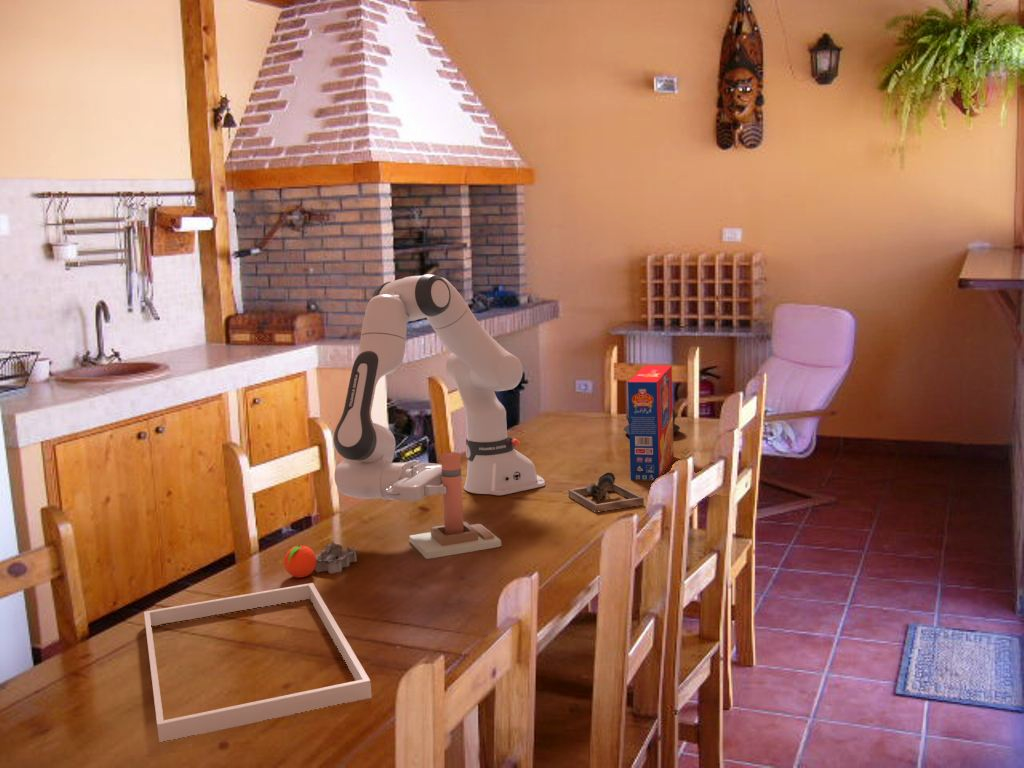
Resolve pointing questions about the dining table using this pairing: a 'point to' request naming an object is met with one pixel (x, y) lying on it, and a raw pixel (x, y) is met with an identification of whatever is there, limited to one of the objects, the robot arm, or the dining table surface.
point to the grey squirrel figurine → (602, 486)
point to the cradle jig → (454, 541)
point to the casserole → (675, 427)
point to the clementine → (300, 561)
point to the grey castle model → (334, 558)
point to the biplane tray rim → (261, 708)
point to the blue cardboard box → (650, 422)
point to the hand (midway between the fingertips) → (454, 484)
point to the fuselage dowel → (452, 493)
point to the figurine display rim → (632, 497)
